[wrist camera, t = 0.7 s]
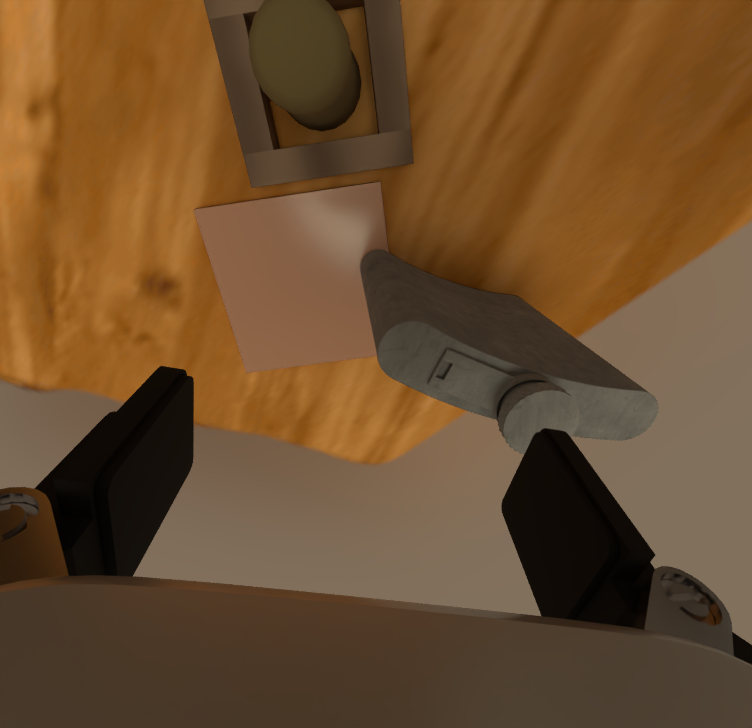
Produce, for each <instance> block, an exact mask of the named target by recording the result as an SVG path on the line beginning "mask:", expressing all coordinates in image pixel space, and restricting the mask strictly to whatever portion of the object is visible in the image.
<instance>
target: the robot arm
mask: <svg viewBox="0 0 752 728" xmlns="http://www.w3.org/2000/svg"><path fill="white" fill-rule="evenodd" d="M193 412H194V382H193V377H191V376H187V373H186V371H185V370H183V369H177V368H171V367H164V366H160V367H159V368H158V369H157V370H156V371H155V372H154V373H153V374H152V375H151V376H150V377H149V378H148V379H147V380H146V381H145V382H144V383H143V384H142V386H141V387H140V388H139V389H138V390H137V391H136V392H135V393H134V394H133V395H132V396H131V397H130V398H129V399H128V400H127V401H126V402H125V403H124V404H123V405H122V407H121V408H120V409H119V410H118V411H117V412H110V413H109V414H108V415H107V416H105V417H104V418H103V419H102V420H101V421H100V422H99V423H98V424H97V425H96V426H95V427H94V428H93V429H92V430H91V431H90V433H89V434H88V435H86V436H85V438H84V439H83V440H82V441H81V442H80V443H79V444H78V445H77V446H76V447H75V448H74V449H73V450H72V451H71V452H70V453H69V454H68V455H67V456H66V457H65V458H64V459H63V460H62V461H61V462H60V463H59V464H58V465H57V466H56V467H55V468H54V469H53V470H52V471H51V472H50V473H49V474H48V475H47V476H46V477H45V478H44V480H43V481H41V483H40V484H39V485H38V486H37V487H36V488H35V489H33V488H27V487H9V488H4V489H0V728H752V645H751V644H749V643H748V642H746V641H745V640H743V639H742V638H740V637H739V636H737V635H736V634H734V633H733V632H732V623H731V619H730V616H729V613H728V611H727V609H726V608H725V606H724V604H723V603H722V602H721V601H720V599H719V598H718V597H717V596H716V595H715V594H714V593H713V592H712V591H711V590H710V589H709V588H708V587H707V586H706V585H704V584H703V583H702V582H700V581H699V580H698V579H696V578H694V577H693V576H692V575H690V574H688V573H686V572H684V571H682V570H680V569H676V568H673V567H668V566H661V567H659V568H656V569H654V567H653V566H652V564H651V563H650V561H651V560H652V559H653V557H654V556H655V554H654V552H653V551H652V550H651V548H650V547H649V545H648V544H647V543H646V542H645V540H644V538H643V537H642V536H641V534H640V533H639V532H638V530H637V529H636V528H635V526H634V525H633V523H632V522H631V520H630V519H629V518H628V516H627V515H626V514H625V512H624V511H623V509H622V508H621V507H620V505H619V504H618V502H617V501H616V500H615V498H614V497H613V496H612V494H611V493H610V491H609V490H608V489H607V487H606V486H605V484H604V483H603V482H602V480H601V479H600V478H599V476H598V475H597V473H596V472H595V471H594V469H593V468H592V467H591V465H590V464H589V462H588V461H587V460H586V458H585V457H584V455H583V454H582V453H581V451H580V450H579V448H578V447H577V446H576V444H575V443H574V442H573V440H572V439H571V437H570V436H569V435H568V433H566V432H565V431H561V430H555V429H549V428H544V429H542V430H541V431H540V432H536V433H535V434H534V436H533V437H532V440H531V442H530V444H529V446H528V448H527V450H526V452H525V454H524V457H523V458H522V461H521V463H520V465H519V467H518V469H517V471H516V473H515V475H514V477H513V479H512V482H511V484H510V486H509V488H508V490H507V492H506V494H505V496H504V498H503V501H502V513H503V516H504V519H505V521H506V524H507V527H508V529H509V532H510V535H511V537H512V540H513V542H514V545H515V547H516V550H517V553H518V555H519V558H520V561H521V563H522V566H523V569H524V571H525V574H526V576H527V579H528V582H529V584H530V587H531V589H532V592H533V595H534V597H535V600H536V603H537V605H538V607H539V610H540V613H541V616H533V615H524V614H515V613H506V612H497V611H488V610H479V609H469V608H460V607H451V606H441V605H431V604H422V603H412V602H402V601H393V600H383V599H373V598H364V597H354V596H344V595H334V594H324V593H313V592H303V591H293V590H283V589H273V588H262V587H252V586H242V585H232V584H221V583H210V582H197V581H184V580H172V579H160V578H148V577H133V575H134V573H135V571H136V569H137V567H138V566H139V564H140V562H141V560H142V558H143V556H144V554H145V553H146V551H147V549H148V547H149V545H150V543H151V542H152V540H153V538H154V536H155V534H156V533H157V531H158V529H159V527H160V525H161V523H162V522H163V520H164V518H165V516H166V514H167V512H168V511H169V508H170V507H171V505H172V503H173V501H174V499H175V497H176V496H177V494H178V492H179V490H180V488H181V486H182V485H183V483H184V481H185V479H186V477H187V476H188V474H189V472H190V470H191V467H192V463H193Z"/></svg>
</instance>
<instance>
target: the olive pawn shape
mask: <svg viewBox="0 0 752 728" xmlns="http://www.w3.org/2000/svg"><path fill="white" fill-rule="evenodd" d="M249 57H250V61H251V65H252V69H253V72H254V76H255V78H256V79H257V81H258V83H259V85H260V87H261V88H262V90H263V92H264V93H265V94H266V95H267V96H268V97H269V98H270V99H271V100H272V101H273V102H274V103H275V104H276V105H278V106H279V107H281V108H283V109H285V110H287V112H288V113H289V114H290V115H291V116H292V117H293V118H294V119H295V120H296V121H297V122H298V123H299V124H301V125H303V126H305V127H307V128H309V129H312V130H318V131H326V130H331V129H335V128H337V127H338V126H340V125H341V124H343V123H345V122H346V121H347V120H348V118H349V117H350V116H351V115H352V113H353V112H354V111H355V108H356V105H357V103H358V100H359V98H360V89H361V77H360V71H359V66H358V63H357V61H356V59H355V57H354V54H353V52H352V51H351V49H350V43H349V37H348V33H347V31H346V29H345V27H344V24H343V22H342V20H341V18H340V16H339V15H338V13H337V12H336V11H335V10H334V9H333V7H332V6H331V5H330V4H329V3H328V1H326V0H265V1H264V2H263V3H262V5H261V6H260V8H259V9H258V11H257V13H256V14H255V16H254V18H253V22H252V26H251V29H250V33H249Z"/></svg>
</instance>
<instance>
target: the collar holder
mask: <svg viewBox="0 0 752 728" xmlns="http://www.w3.org/2000/svg"><path fill="white" fill-rule="evenodd" d="M264 1H265V0H204V3H205V7H206V11H207V15H208V19H209V23H210V27H211V31H212V35H213V39H214V42H215V46H216V50H217V54H218V58H219V62H220V66H221V70H222V74H223V78H224V82H225V85H226V89H227V93H228V97H229V101H230V105H231V109H232V113H233V117H234V121H235V125H236V128H237V132H238V136H239V140H240V144H241V148H242V152H243V156H244V160H245V164H246V167H247V171H248V175H249V179H250V183H251V187H252V188H255V187H261V186H268V185H274V184H281V183H288V182H294V181H301V180H308V179H314V178H321V177H328V176H334V175H341V174H347V173H354V172H361V171H367V170H374V169H381V168H387V167H394V166H400V165H407V164H414V162H413V150H412V138H411V126H410V114H409V102H408V90H407V78H406V65H405V53H404V41H403V29H402V17H401V5H400V0H326V1H328V3H329V4H330V5H331V6H332V7H333V9H334V10H335V11H336V10H342V9H348V8H354V7H360V6H364V13H365V22H366V30H367V39H368V48H369V56H370V65H371V74H372V82H373V91H374V100H375V108H376V117H377V126H378V134H374V135H367V136H361V137H354V138H348V139H341V140H335V141H329V142H322V143H316V144H309V145H303V146H296V147H290V148H283V149H280V148H279V143H278V138H277V134H276V129H275V125H274V120H273V115H272V111H271V106H270V102H269V97H268V96H267V95H266V94H265V93H264V92H263V90H262V88H261V87H260V85H259V83H258V81H257V79H256V78H255V76H254V72H253V69H252V65H251V61H250V57H249V33H250V29H251V26H252V22H253V18H254V16H255V14H256V13H257V11H258V9H259V8H260V6H261V5H262V3H263V2H264Z"/></svg>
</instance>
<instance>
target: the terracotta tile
mask: <svg viewBox="0 0 752 728" xmlns="http://www.w3.org/2000/svg"><path fill="white" fill-rule="evenodd" d="M194 213H195V216H196V219H197V222H198V225H199V228H200V231H201V234H202V237H203V240H204V243H205V247H206V250H207V253H208V256H209V259H210V262H211V265H212V268H213V271H214V274H215V277H216V280H217V283H218V287H219V290H220V293H221V296H222V299H223V302H224V305H225V308H226V311H227V314H228V317H229V320H230V323H231V327H232V330H233V333H234V336H235V339H236V342H237V345H238V348H239V351H240V354H241V357H242V360H243V363H244V367H245V370H246V373H250V372H257V371H265V370H272V369H280V368H288V367H295V366H303V365H310V364H318V363H326V362H333V361H341V360H349V359H356V358H364V357H371V356H377V352H376V347H375V342H374V337H373V332H372V327H371V323H370V318H369V313H368V308H367V303H366V298H365V293H364V288H363V283H362V278H361V273H360V264H361V261H362V259H363V258H364V256H365V255H366V254H367V253H369V252H370V251H373V250H377V249H380V250H385V251H387V252H389V250H388V242H387V234H386V225H385V217H384V208H383V200H382V192H381V183H380V181H379V182H372V183H365V184H358V185H352V186H345V187H338V188H332V189H325V190H318V191H312V192H305V193H298V194H292V195H285V196H278V197H272V198H265V199H258V200H251V201H245V202H238V203H231V204H225V205H218V206H211V207H205V208H198V209H194Z"/></svg>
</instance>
